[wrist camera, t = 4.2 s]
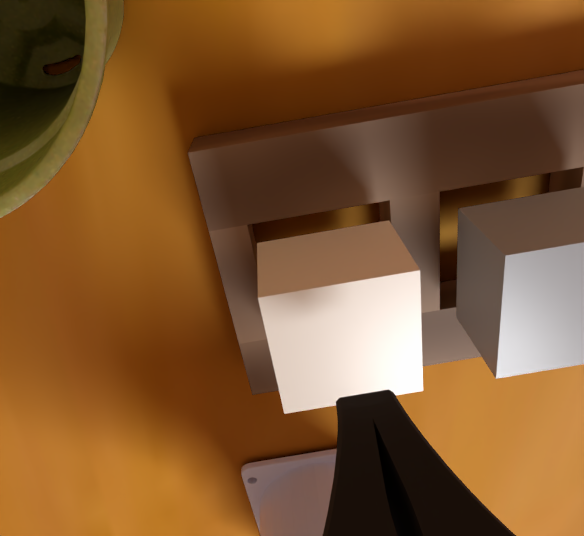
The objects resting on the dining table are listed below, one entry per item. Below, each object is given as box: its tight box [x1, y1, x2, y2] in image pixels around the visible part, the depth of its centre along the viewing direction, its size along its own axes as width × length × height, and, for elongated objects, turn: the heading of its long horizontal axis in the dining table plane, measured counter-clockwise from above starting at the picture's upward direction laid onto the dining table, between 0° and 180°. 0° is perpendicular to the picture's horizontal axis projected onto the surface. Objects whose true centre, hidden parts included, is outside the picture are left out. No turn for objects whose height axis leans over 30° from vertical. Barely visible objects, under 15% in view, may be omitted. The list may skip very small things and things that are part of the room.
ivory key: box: [257, 220, 423, 414], centre depth 16 cm, size 5×5×4 cm
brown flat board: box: [188, 70, 584, 395], centre depth 19 cm, size 11×22×2 cm, turn 99°
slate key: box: [456, 187, 584, 379], centre depth 16 cm, size 5×5×4 cm
